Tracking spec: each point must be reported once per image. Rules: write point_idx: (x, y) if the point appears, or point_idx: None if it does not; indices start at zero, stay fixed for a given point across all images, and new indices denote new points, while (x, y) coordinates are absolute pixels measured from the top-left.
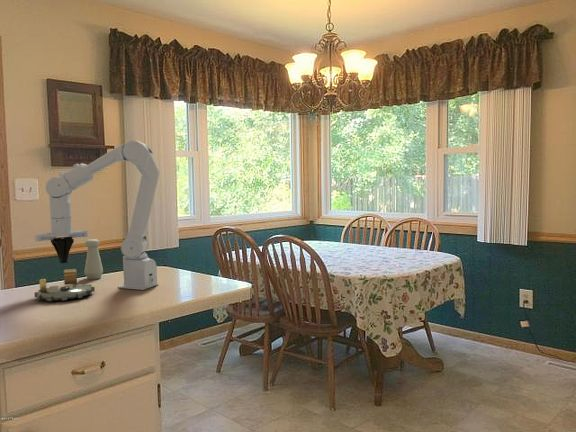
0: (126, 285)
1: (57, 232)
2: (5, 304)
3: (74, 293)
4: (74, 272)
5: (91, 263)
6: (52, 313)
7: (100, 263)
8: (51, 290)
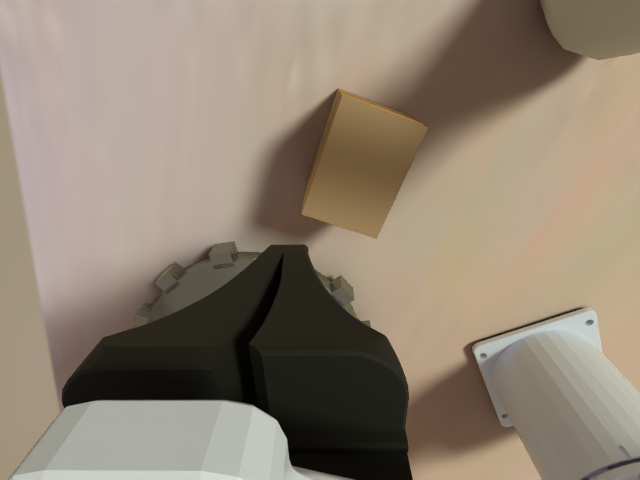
0: (493, 380)
1: None
2: (42, 293)
3: None
4: (364, 231)
5: (638, 21)
6: None
7: None
8: None
